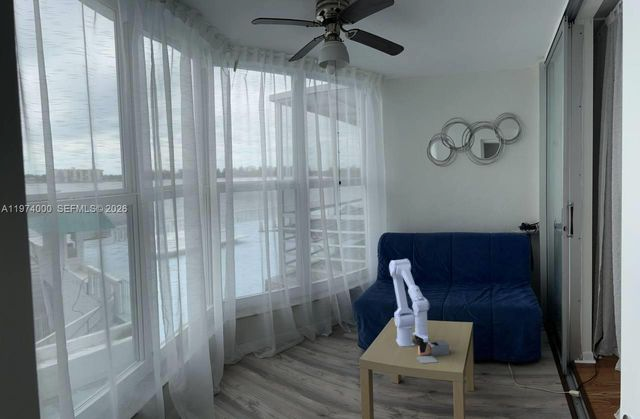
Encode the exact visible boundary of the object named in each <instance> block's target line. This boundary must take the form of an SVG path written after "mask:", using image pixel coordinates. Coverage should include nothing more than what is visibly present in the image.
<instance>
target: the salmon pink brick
mask: <svg viewBox="0 0 640 419" xmlns="http://www.w3.org/2000/svg"><path fill="white" fill-rule="evenodd" d="M433 346H435V345H434V344H433ZM417 350H418V351H417V354H418V355H419V356H423V355H424V356H425V355H426V356H429V355H431V352H430V345H427V346H426V350H425V352H424V353H421V352H420V348H419V346H418V345H417Z"/></svg>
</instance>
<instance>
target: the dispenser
mask: <svg viewBox="0 0 640 419" xmlns="http://www.w3.org/2000/svg"><path fill="white" fill-rule="evenodd" d="M433 344H434V345H435V346H433ZM427 345H430V352H431V354H430V356H433V357H437V356H449V355H450V344H449V343H448V341H446V340H445V339H444V340H443V339H441V340H439V339H437V340H434V341H430V340H429V341H428V343H427Z"/></svg>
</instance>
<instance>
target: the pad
mask: <svg viewBox="0 0 640 419" xmlns="http://www.w3.org/2000/svg"><path fill="white" fill-rule="evenodd" d="M416 359H417V360H418V361H419V364H421V365H423V364H431V363H432V364H433V363H435V364H436V363H439V361H438V360H437V359H436V358H435V356H431V355H426V356H425V355H424V356H423V355H421V356H416Z"/></svg>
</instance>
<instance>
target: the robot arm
mask: <svg viewBox="0 0 640 419" xmlns="http://www.w3.org/2000/svg"><path fill="white" fill-rule="evenodd" d="M388 269H389V273H390V276H391V277H392V280H393V286H394V292H395V293H394V294H395V297H396V304H397V309H396V311H394V313H393V314H394V315H393V316H394V318H393V319H394V321H393V322H394V324H395V326H396V327H397V328H396V339H395V341H396V343H397V344H398V345H399V347H412V346H413V347H414V346H416V344H417V347H418V346H419V348H420V352H421V353H424V352H425V350H426V346H427V343H428V341H429V342H430V338H429V334H428V311H429V310H430V303H429V301H428V299H427V298H425V296H424V295H423V294H422V291H421V290H420V286H418V285H416V284H415V281H414V280H415V279H414V278H413V275H412V272H411V270H412V265H411V261H410V260H409V259H408V258H403V259H396V260H390V262H389V265H388ZM404 282H405V283H404ZM405 284H406V285H407V288H408V290H407V293H408V295H409V297H410V299H411V302H412V306H411V308H412V309H411V308H410V307H409V305H408V299H407V295H406V294H407V293H406V290H405ZM414 327H415V328H414ZM413 328H414V332H413ZM413 336H414V339H415V341H416V344H415V343H414V341H413Z"/></svg>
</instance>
